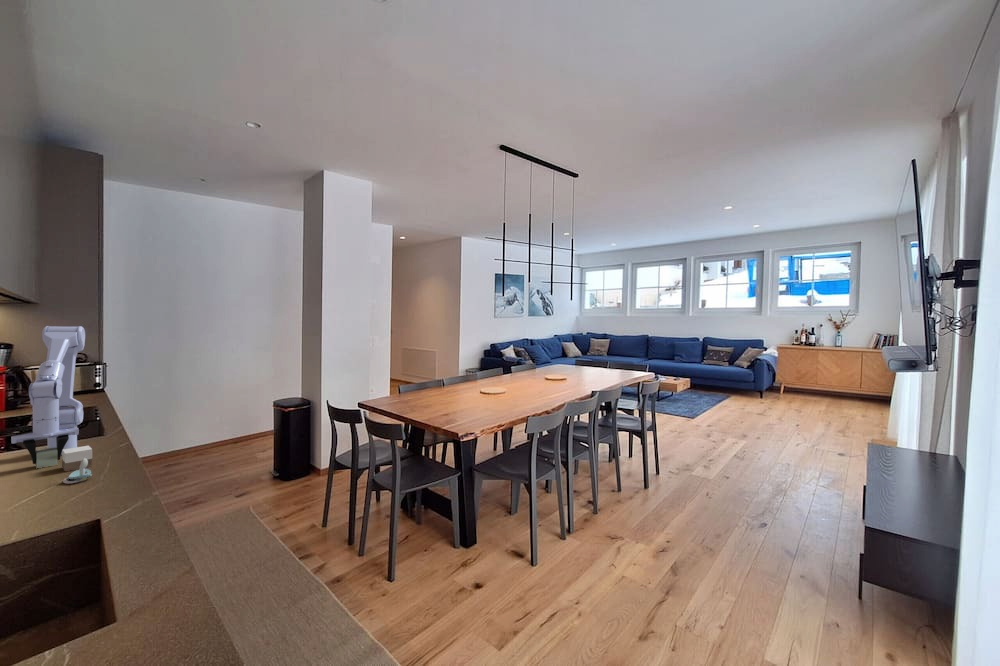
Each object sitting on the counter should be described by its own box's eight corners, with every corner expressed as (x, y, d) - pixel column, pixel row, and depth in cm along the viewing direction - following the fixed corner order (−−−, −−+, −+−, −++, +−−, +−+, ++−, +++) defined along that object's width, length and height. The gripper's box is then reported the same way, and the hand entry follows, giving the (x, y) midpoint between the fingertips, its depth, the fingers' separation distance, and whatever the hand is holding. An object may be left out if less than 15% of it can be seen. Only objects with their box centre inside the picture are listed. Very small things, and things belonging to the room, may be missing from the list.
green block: (35, 465, 135) (35, 450, 135) (55, 462, 139) (55, 447, 138) (36, 469, 132) (36, 453, 132) (57, 465, 136) (57, 449, 136)
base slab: (62, 468, 134) (62, 459, 134) (88, 463, 139) (88, 454, 139) (64, 473, 130) (64, 463, 130) (91, 468, 135) (91, 458, 135)
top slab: (62, 459, 134) (62, 449, 134) (88, 454, 139) (88, 445, 138) (65, 463, 130) (65, 453, 130) (92, 458, 135) (92, 449, 135)
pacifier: (63, 487, 119) (92, 481, 124) (62, 465, 119) (91, 459, 123) (62, 480, 124) (91, 474, 129) (61, 459, 124) (89, 454, 128)
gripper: (12, 424, 127) (12, 469, 127) (80, 416, 138) (80, 458, 139) (10, 420, 131) (11, 464, 132) (76, 413, 143) (76, 454, 143)
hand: (46, 461), depth 135 cm, fingers closed on green block, 4 cm apart
